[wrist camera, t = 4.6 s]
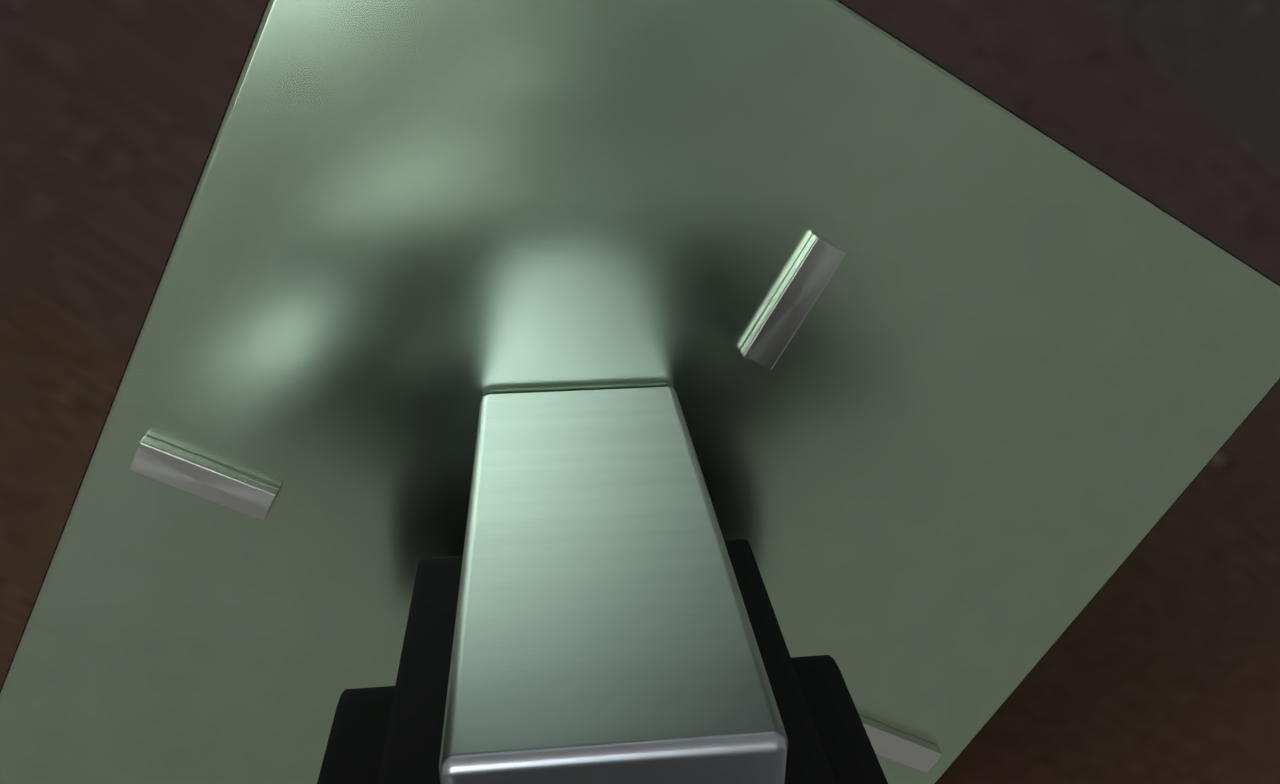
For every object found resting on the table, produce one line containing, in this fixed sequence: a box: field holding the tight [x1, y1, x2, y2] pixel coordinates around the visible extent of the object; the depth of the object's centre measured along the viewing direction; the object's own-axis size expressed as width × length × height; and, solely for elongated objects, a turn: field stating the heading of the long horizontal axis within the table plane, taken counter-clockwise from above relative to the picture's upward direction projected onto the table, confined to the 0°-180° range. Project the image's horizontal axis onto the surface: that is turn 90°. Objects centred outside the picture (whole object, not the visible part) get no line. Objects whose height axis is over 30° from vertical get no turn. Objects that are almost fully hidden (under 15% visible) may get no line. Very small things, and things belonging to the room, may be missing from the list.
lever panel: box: [0, 0, 1280, 784], centre depth 13 cm, size 14×11×3 cm
